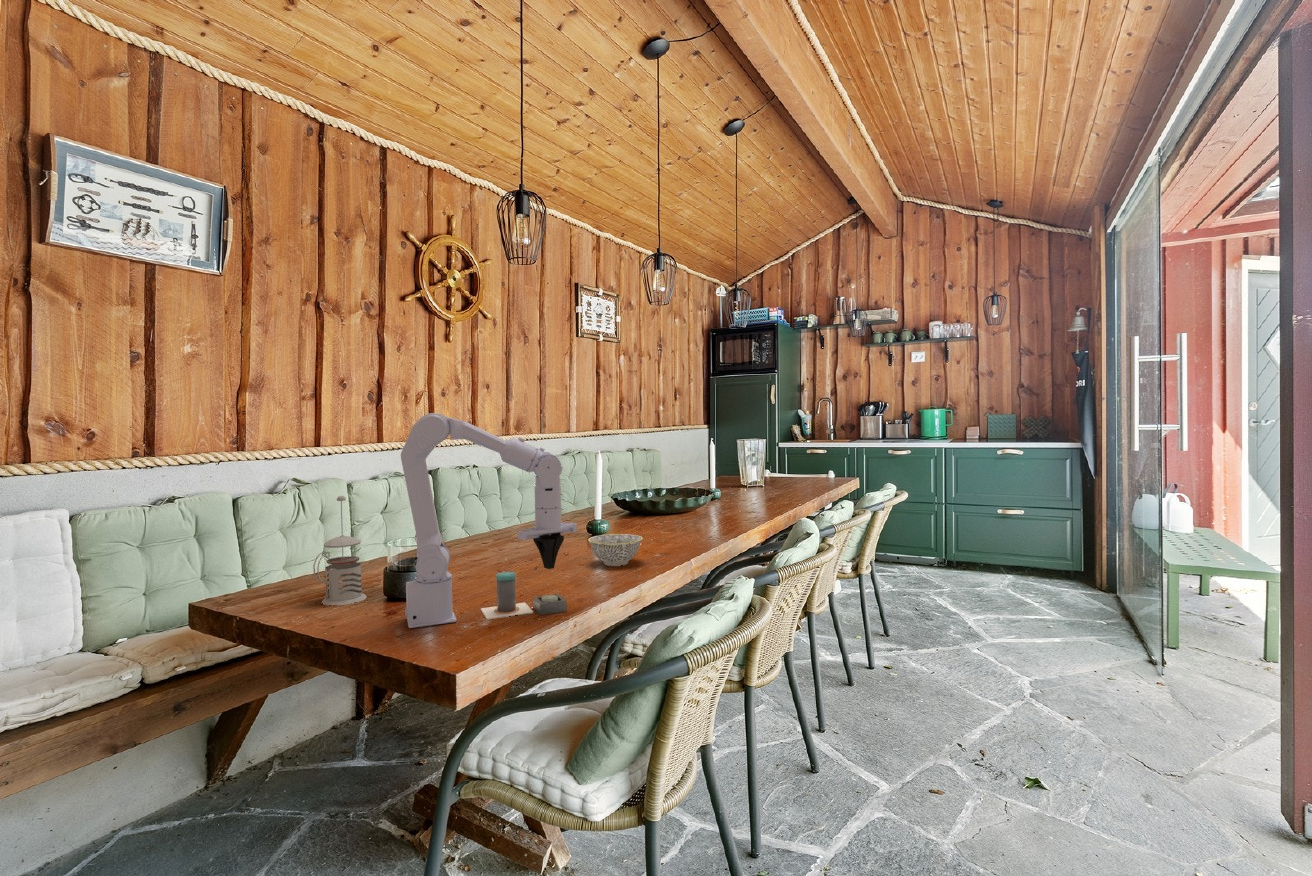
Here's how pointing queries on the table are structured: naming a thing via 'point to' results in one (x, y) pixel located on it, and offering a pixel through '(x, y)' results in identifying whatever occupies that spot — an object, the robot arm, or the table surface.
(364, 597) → the french press
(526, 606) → the paper
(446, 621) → the robot arm
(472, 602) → the table surface
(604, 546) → the bowl
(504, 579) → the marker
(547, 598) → the button
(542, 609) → the button base
